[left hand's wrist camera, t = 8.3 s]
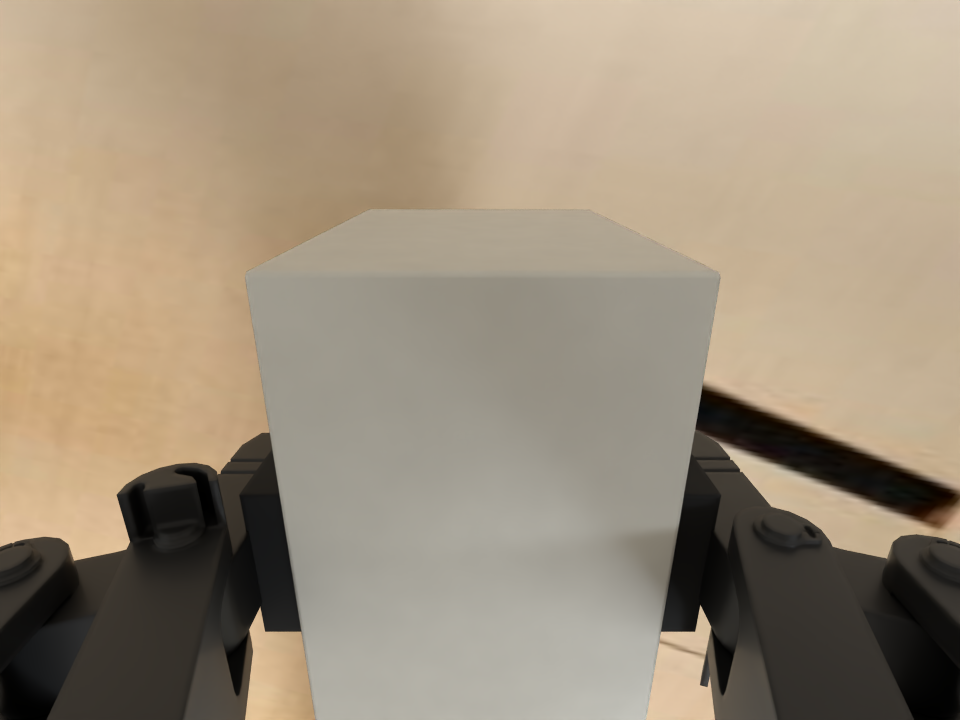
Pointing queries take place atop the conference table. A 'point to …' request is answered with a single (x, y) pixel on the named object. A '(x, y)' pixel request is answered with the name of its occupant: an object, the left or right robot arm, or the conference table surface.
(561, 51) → the conference table surface
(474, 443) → the post
